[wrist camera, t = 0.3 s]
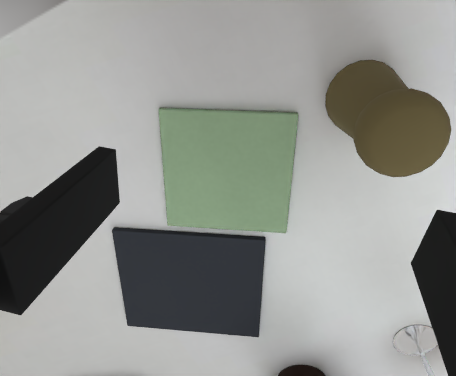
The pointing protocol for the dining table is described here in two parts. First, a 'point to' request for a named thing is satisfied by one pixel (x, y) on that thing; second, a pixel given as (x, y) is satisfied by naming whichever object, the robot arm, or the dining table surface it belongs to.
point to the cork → (387, 119)
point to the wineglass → (416, 343)
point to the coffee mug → (301, 371)
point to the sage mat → (228, 168)
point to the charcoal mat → (191, 280)
